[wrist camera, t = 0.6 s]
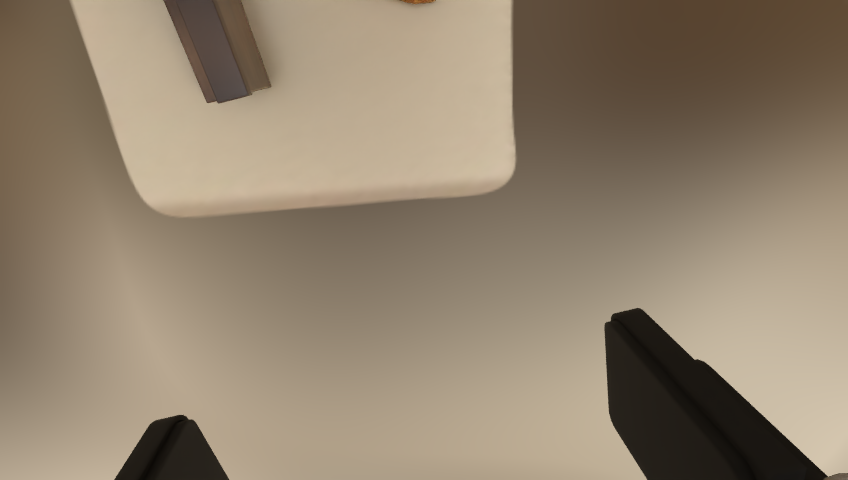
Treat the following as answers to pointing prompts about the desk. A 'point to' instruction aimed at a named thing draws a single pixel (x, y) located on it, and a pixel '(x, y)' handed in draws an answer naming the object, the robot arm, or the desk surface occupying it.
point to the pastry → (418, 1)
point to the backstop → (219, 47)
